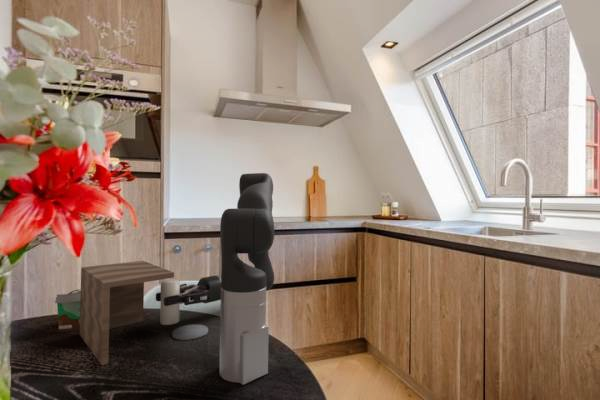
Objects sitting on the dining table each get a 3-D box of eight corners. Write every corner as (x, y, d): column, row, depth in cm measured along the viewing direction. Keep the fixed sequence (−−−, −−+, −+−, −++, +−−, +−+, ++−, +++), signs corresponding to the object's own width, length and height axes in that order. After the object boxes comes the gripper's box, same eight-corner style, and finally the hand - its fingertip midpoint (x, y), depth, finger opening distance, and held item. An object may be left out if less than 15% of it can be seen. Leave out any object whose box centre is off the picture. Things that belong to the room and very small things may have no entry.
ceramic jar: (182, 321, 86) (182, 281, 87) (164, 326, 83) (165, 284, 83) (174, 316, 90) (175, 278, 90) (157, 321, 86) (157, 281, 86)
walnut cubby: (172, 343, 77) (174, 272, 77) (101, 365, 66) (103, 282, 66) (141, 319, 92) (142, 260, 92) (79, 334, 81) (81, 267, 81)
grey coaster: (214, 333, 83) (214, 331, 83) (181, 343, 77) (181, 341, 77) (198, 323, 90) (198, 321, 90) (166, 332, 83) (166, 330, 83)
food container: (77, 334, 81) (78, 295, 81) (54, 334, 81) (55, 295, 81) (108, 317, 94) (108, 283, 94) (87, 317, 94) (88, 283, 94)
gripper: (205, 271, 102) (150, 280, 90) (230, 279, 92) (171, 291, 80) (204, 295, 102) (149, 307, 90) (229, 305, 92) (171, 321, 80)
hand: (160, 299), depth 85 cm, fingers closed on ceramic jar, 4 cm apart
